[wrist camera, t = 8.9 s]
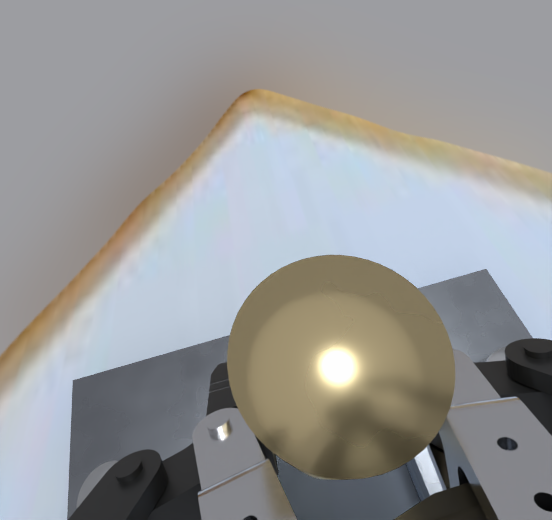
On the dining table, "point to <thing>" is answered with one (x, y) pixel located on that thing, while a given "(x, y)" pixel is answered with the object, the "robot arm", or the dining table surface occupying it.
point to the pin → (341, 367)
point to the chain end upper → (154, 415)
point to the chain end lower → (474, 321)
